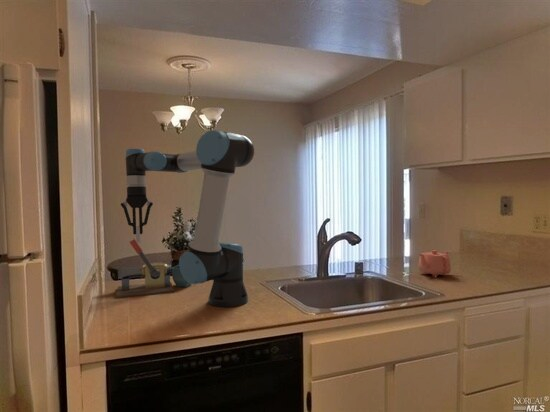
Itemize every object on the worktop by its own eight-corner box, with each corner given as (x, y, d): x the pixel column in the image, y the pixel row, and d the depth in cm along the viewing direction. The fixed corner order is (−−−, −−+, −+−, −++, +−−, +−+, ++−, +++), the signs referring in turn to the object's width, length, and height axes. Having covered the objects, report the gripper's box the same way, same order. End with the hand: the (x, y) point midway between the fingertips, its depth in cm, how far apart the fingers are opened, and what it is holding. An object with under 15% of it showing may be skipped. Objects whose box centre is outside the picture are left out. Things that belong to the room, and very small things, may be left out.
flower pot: (189, 288, 162) (188, 268, 162) (170, 287, 164) (170, 268, 164) (197, 283, 171) (196, 264, 170) (179, 283, 172) (179, 264, 172)
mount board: (174, 292, 156) (174, 289, 156) (116, 298, 148) (116, 295, 148) (170, 283, 171) (170, 281, 171) (117, 288, 163) (117, 286, 163)
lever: (153, 281, 154) (162, 275, 156) (127, 243, 150) (136, 238, 151) (153, 280, 156) (161, 274, 158) (127, 242, 152) (136, 237, 153)
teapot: (418, 277, 181) (418, 252, 180) (418, 270, 196) (418, 247, 196) (451, 279, 175) (451, 253, 175) (449, 272, 190) (449, 248, 190)
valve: (171, 287, 160) (171, 265, 160) (117, 292, 152) (117, 269, 152) (170, 283, 168) (169, 261, 168) (118, 287, 160) (118, 265, 160)
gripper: (152, 186, 158) (153, 239, 159) (120, 186, 153) (122, 241, 154) (153, 185, 151) (154, 242, 152) (119, 186, 146) (121, 244, 147)
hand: (138, 241), depth 153 cm, fingers closed
